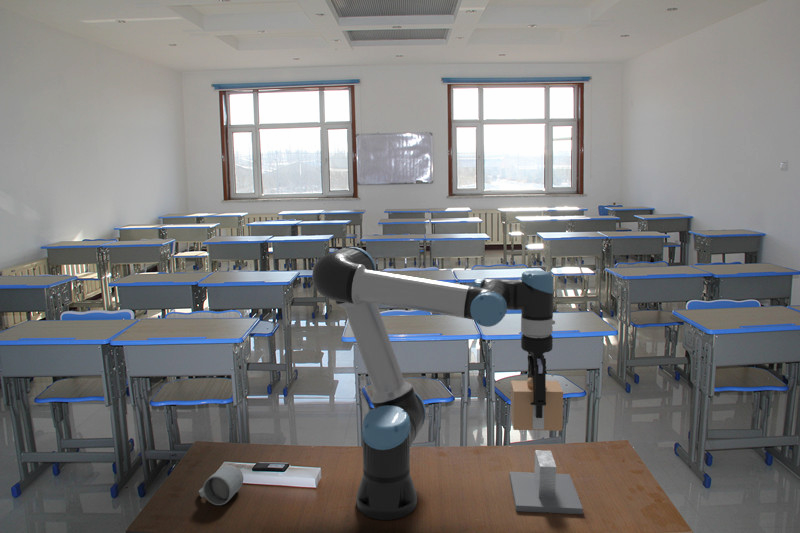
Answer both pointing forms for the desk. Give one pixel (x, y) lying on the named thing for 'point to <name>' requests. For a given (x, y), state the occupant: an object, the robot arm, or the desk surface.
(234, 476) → the ceramic mug
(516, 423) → the tan block with dome
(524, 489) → the grey square plate
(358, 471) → the desk surface
